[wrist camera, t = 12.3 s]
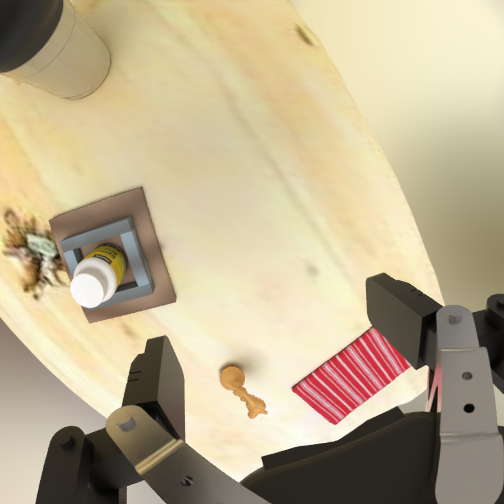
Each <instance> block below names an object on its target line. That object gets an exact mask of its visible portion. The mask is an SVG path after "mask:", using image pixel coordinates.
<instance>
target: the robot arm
mask: <svg viewBox="0 0 504 504" xmlns="http://www.w3.org/2000/svg"><path fill="white" fill-rule="evenodd" d="M110 62H111V58H110V53H109V50H108V48H107V47H106V46H105V44H104V43H103V42H102V41H101V39H100V38H99V37H98V36H97V34H96V33H95V32H94V31H93V30H92V28H91V27H90V26H89V25H88V23H87V22H86V21H85V20H84V19H83V17H82V16H81V15H80V14H79V13H78V11H77V10H76V9H75V8H74V7H73V5H72V4H71V3H70V2H69V1H68V0H0V75H3V76H6V77H9V78H12V79H15V80H17V81H20V82H23V83H26V84H28V85H31V86H34V87H36V88H39V89H41V90H44V91H46V92H49V93H51V94H54V95H57V96H59V97H62V98H64V99H69V100H75V99H80V98H83V97H86V96H87V95H89V94H91V93H92V92H94V91H95V90H96V89H97V88H98V87H99V86H100V85H101V84H102V82H103V81H104V80H105V78H106V76H107V74H108V72H109V68H110ZM366 300H367V315H368V318H369V321H370V323H371V324H372V325H373V326H374V328H375V329H376V330H377V331H378V332H379V333H380V334H381V335H382V336H383V337H384V338H385V339H386V340H387V341H388V342H389V343H390V344H391V345H392V346H393V347H394V348H395V349H396V350H397V351H398V352H399V353H400V354H401V355H402V356H403V357H404V358H405V359H406V360H407V361H408V362H409V363H410V364H411V365H412V367H413V368H414V369H415V370H417V369H419V368H421V367H423V366H425V365H427V366H428V367H429V370H428V380H427V398H426V409H425V412H422V411H421V412H411V413H405V414H403V413H402V411H401V410H400V409H399V407H398V406H397V407H395V408H393V409H391V410H389V411H386V412H384V413H382V414H380V415H378V416H376V417H373V418H371V419H369V420H367V421H366V422H364V423H363V424H361V425H360V426H359V427H357V428H356V429H354V430H353V431H351V432H350V433H348V434H347V435H345V436H344V437H342V438H341V439H339V440H337V441H334V442H328V443H321V444H314V445H306V446H298V447H294V448H291V449H287V450H284V451H281V452H277V453H274V454H270V455H266V456H262V457H261V458H262V462H263V467H261V468H259V469H257V470H256V471H254V472H252V473H251V474H249V475H248V476H247V477H245V478H244V479H243V480H242V481H240V482H239V483H238V482H237V481H235V480H234V479H232V478H231V477H229V476H228V475H227V474H225V473H224V472H222V471H221V470H220V469H218V468H217V467H216V466H214V465H213V464H212V463H210V462H209V461H208V460H206V459H205V458H204V457H202V456H201V455H200V454H199V453H197V452H196V451H195V450H194V449H192V448H191V447H190V446H189V445H188V444H186V443H185V401H184V375H183V371H182V368H181V366H180V363H179V361H178V359H177V357H176V354H175V352H174V350H173V348H172V345H171V343H170V341H169V339H168V337H167V336H166V335H165V336H161V337H156V338H152V339H148V340H147V343H146V348H145V352H144V353H143V354H138V355H137V357H136V358H135V359H134V361H133V362H132V363H131V367H130V371H129V374H130V375H129V376H128V380H127V381H128V382H127V384H126V389H125V393H124V398H123V402H122V407H121V408H119V409H117V410H115V411H114V412H113V413H112V414H111V415H110V416H109V417H108V419H107V421H106V427H105V428H103V429H101V430H98V431H95V432H92V433H90V434H87V435H85V434H84V432H83V431H82V430H81V429H80V428H78V427H76V426H68V427H64V428H62V429H61V430H59V431H58V432H56V433H55V435H54V436H53V437H52V439H51V441H50V445H49V448H48V452H47V456H46V460H45V463H44V467H43V471H42V476H41V480H40V484H39V489H38V494H37V498H36V504H126V503H127V501H126V500H127V498H126V497H127V486H129V485H132V484H135V483H137V482H140V481H143V480H145V481H146V482H147V483H148V484H149V486H150V487H151V488H152V489H153V490H154V491H155V492H156V493H157V494H158V495H159V496H160V498H161V499H162V500H163V501H164V502H165V503H166V504H504V427H503V426H498V425H497V416H496V404H495V396H494V388H493V384H494V385H495V386H496V387H497V388H498V389H499V390H500V391H501V392H502V393H503V394H504V294H495V295H492V296H490V297H489V298H488V300H487V304H486V309H485V310H482V311H477V312H473V313H471V311H470V310H469V309H467V308H465V307H463V306H460V305H449V306H444V307H443V306H442V305H440V304H439V303H437V302H436V301H435V300H433V299H432V298H430V297H429V296H427V295H426V294H423V292H421V291H420V290H417V288H415V287H414V286H412V285H411V284H409V283H407V282H403V281H400V280H395V279H393V278H392V277H390V276H389V275H387V274H386V273H380V274H378V275H375V276H372V277H369V278H367V280H366Z"/></svg>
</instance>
